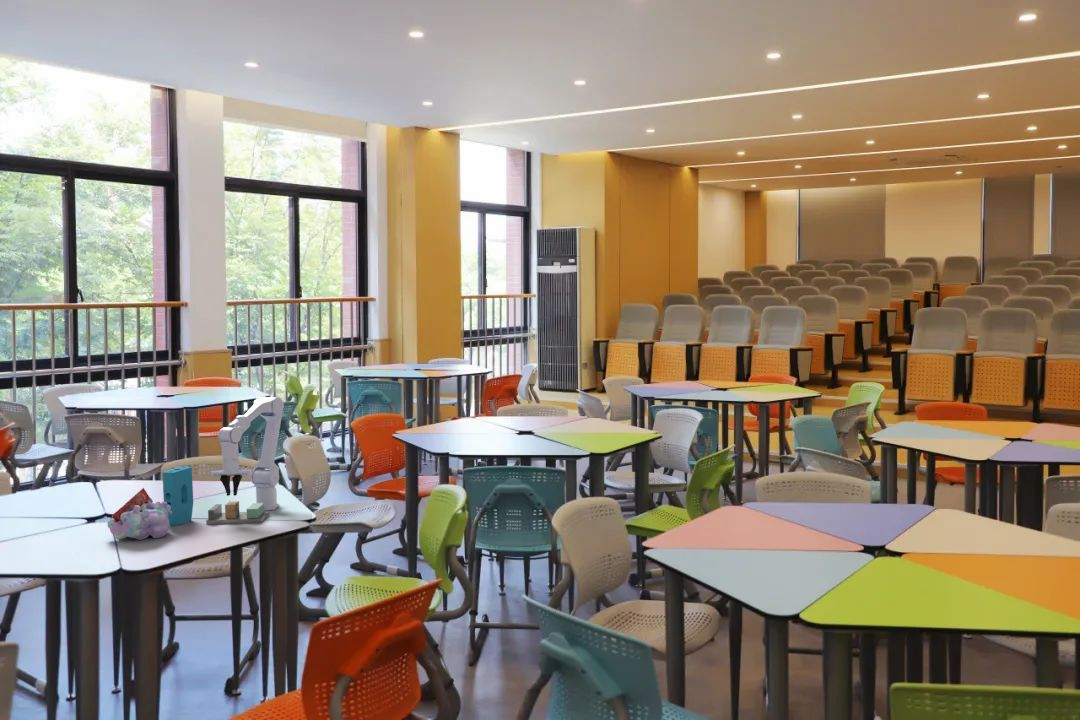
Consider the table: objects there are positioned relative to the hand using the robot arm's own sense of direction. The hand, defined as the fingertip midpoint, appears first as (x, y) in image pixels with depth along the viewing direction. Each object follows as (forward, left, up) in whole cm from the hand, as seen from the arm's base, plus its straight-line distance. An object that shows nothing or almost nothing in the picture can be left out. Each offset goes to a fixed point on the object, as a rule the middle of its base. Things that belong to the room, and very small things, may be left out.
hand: (231, 495), depth 346 cm
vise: (0, +2, -9) cm, 10 cm away
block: (+2, -19, -10) cm, 21 cm away
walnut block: (0, 0, -8) cm, 8 cm away
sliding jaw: (0, +9, -8) cm, 12 cm away
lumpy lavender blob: (+22, -26, -10) cm, 35 cm away
